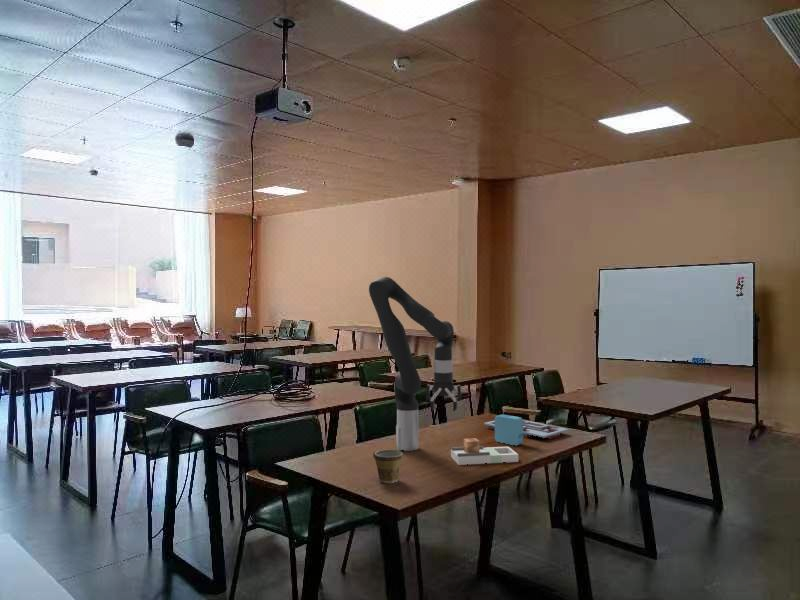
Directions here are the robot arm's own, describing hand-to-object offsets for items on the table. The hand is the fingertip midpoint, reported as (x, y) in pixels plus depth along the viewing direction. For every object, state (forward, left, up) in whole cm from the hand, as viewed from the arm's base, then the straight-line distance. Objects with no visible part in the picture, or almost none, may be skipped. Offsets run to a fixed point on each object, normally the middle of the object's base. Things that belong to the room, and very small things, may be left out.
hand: (443, 410), depth 237 cm
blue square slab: (+34, +18, -20) cm, 43 cm away
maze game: (+49, +37, -20) cm, 65 cm away
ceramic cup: (-27, -23, -20) cm, 40 cm away
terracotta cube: (+11, -4, -17) cm, 20 cm away
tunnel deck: (+16, -4, -20) cm, 25 cm away
